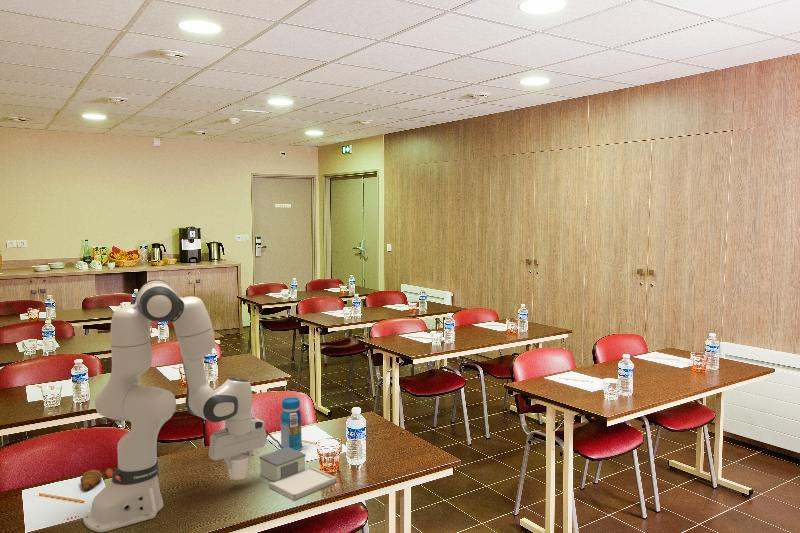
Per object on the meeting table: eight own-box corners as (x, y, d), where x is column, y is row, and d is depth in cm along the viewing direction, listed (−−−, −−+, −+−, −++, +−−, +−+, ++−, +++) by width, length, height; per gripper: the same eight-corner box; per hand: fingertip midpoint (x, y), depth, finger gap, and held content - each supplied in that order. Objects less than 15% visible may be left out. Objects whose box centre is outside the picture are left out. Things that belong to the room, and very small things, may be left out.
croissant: (97, 491, 197) (96, 477, 197) (75, 493, 196) (74, 479, 195) (107, 474, 211) (106, 461, 210) (86, 476, 209) (85, 463, 209)
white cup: (251, 472, 203) (251, 452, 203) (243, 481, 196) (243, 460, 196) (232, 471, 204) (232, 451, 204) (223, 479, 197) (223, 458, 197)
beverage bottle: (276, 452, 231) (276, 401, 229) (286, 444, 239) (285, 395, 237) (297, 454, 229) (296, 403, 227) (305, 446, 237) (305, 397, 235)
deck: (294, 500, 191) (294, 480, 190) (250, 478, 208) (250, 459, 207) (336, 482, 204) (336, 463, 204) (292, 462, 221) (291, 445, 220)
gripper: (215, 434, 190) (215, 477, 190) (268, 421, 205) (268, 460, 205) (205, 430, 194) (204, 471, 194) (258, 417, 209) (258, 455, 210)
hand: (238, 466), depth 200 cm, fingers closed on white cup, 5 cm apart
